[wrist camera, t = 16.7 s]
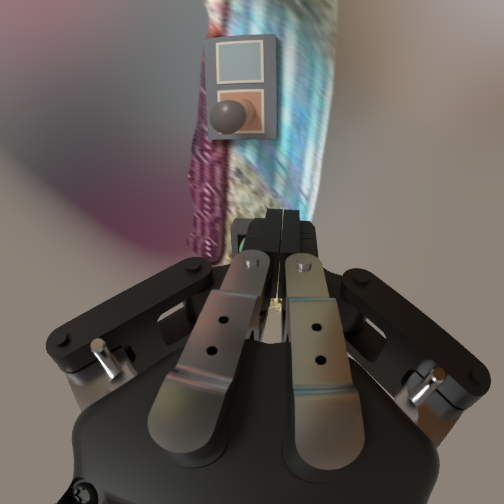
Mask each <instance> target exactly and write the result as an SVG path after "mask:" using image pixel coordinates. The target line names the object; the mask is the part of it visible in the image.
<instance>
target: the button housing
mask: <svg viewBox="0 0 504 504" xmlns="http://www.w3.org/2000/svg"><path fill="white" fill-rule="evenodd" d="M253 220H254V219H238V218H235V219H234V221H233V224H232V226H231V243H232V258H234V256H235V255H236V254H238V253H239V248H240V245H241V242H242V239H243V238H244V237H245V236H246V234H247V231H248V227H249V223H250V222H252V221H253Z"/></svg>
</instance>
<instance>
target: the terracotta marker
mask: <svg viewBox="0 0 504 504" xmlns="http://www.w3.org/2000/svg"><path fill="white" fill-rule="evenodd" d="M254 116H255V107H254V105H253V104H252V103H251V102H250V101H249V100H247V99H243V98H239V99H231V100H224V101H220V102H218V103H217V104H215V105H214V106H213V108H212V109H211V111H210V115H209V119H210V123H211V125H212V127H213V128H214V129H215V130H216V131H217V132H219V133H222V134H232V133H235V132H237V131H238V130H240V129H241V128H242V127H244V126H245V125H246V124H248V123H249V122H251V121H252V119H253V118H254Z"/></svg>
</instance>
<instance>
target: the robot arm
mask: <svg viewBox="0 0 504 504" xmlns="http://www.w3.org/2000/svg"><path fill="white" fill-rule="evenodd" d="M282 214H283V209H268V208H267V212H266V217H265V218H255V219H254V220H253V221H252V222H250V223H249V227H248V231H247V234H246V237H245V240H244V244H243V247H242V251H241V252H239V253H238V254H236V255H235V256H234V258H233V260H232V262H231V264H228V265H224V266H218V267H212V264H211V263H210V261H209V260H207V259H205V258H202V257H191V258H187V259H184V260H182V261H180V262H179V263H177V264H175V265H173V266H171V267H169V268H167V269H165V270H163V271H161V272H159V273H157V274H156V275H154V276H152V277H150V278H148V279H146V280H144V281H142V282H140V283H138V284H137V285H135V286H133V287H131V288H129V289H127V290H125V291H123V292H122V293H120V294H118V295H116V296H115V297H112V298H110V299H109V300H107V301H105V302H103V303H101V304H99V305H98V306H96V307H94V308H92V309H91V310H89V311H87V312H85V313H83V314H81V315H80V316H78V317H76V318H74V319H72V320H71V321H69V322H67V323H65V324H63V325H62V326H60V327H58V328H57V329H55V330H54V331H53V332H52V333H51V334H50V335H49V337H48V339H47V342H46V350H47V353H48V354H49V355H50V356H51V357H52V359H53V360H54V361H55V362H56V363H57V365H58V367H59V368H60V369H61V371H62V372H63V373H64V374H65V375H66V377H67V379H68V382H69V384H70V386H71V389H72V392H73V394H74V396H75V399H76V401H77V403H78V405H79V408H80V410H81V412H82V413H81V414H80V415H79V416H78V418H77V420H76V422H75V425H74V427H73V432H72V445H73V453H74V473H73V480H72V482H71V485H70V486H69V488H68V490H67V491H66V492H65V494H64V495H63V496H62V497H61V499H60V500H59V501H58V502H57V503H56V504H427V502H428V499H429V497H430V494H431V492H432V490H433V488H434V485H435V483H436V481H437V478H438V474H439V467H440V464H439V456H438V452H437V450H436V449H437V447H438V446H439V445H440V443H441V442H442V441H443V440H444V438H445V437H446V436H447V434H448V433H449V432H450V430H451V429H452V428H453V426H454V425H455V423H456V422H457V420H458V419H459V418H460V416H461V414H462V413H463V412H465V411H466V410H467V409H468V408H469V407H471V406H472V405H473V404H474V403H475V402H477V401H478V400H479V399H480V398H481V397H482V396H483V395H485V394H486V393H487V392H488V390H489V388H490V384H491V378H490V374H489V371H488V369H487V368H486V366H484V364H483V363H482V362H480V361H479V360H478V359H477V358H476V357H475V356H474V355H473V354H472V353H470V352H469V351H468V350H467V349H466V348H464V346H462V345H461V344H460V343H459V342H458V341H457V340H455V339H454V338H453V337H452V336H451V335H450V334H448V333H447V332H446V331H445V330H444V329H442V328H441V327H440V326H439V325H438V324H436V323H435V322H434V321H433V320H432V319H430V318H429V317H428V316H426V315H425V314H424V313H422V311H420V310H419V309H418V308H417V307H415V306H414V305H413V304H412V303H410V302H409V301H408V300H406V299H405V298H404V297H403V296H401V295H400V294H399V293H397V292H396V291H395V290H393V289H392V288H391V287H390V286H388V285H387V284H386V283H384V282H383V281H382V280H380V279H379V278H378V277H376V276H375V275H374V274H372V273H371V272H369V271H367V270H364V269H359V268H354V269H349V270H347V271H346V272H345V273H344V274H343V276H341V275H337V274H334V273H331V272H329V271H327V270H326V269H325V268H323V266H322V262H321V261H320V260H319V259H318V250H317V240H316V232H315V227H314V226H313V224H312V223H311V222H310V221H300V218H299V210H286V209H284V216H283V228H282ZM281 235H282V241H281ZM280 251H281V252H280ZM279 262H280V270H279ZM278 273H279V285H278V298H281V299H282V309H281V343H274V344H267V343H263V342H261V341H262V337H263V332H264V328H265V324H266V320H267V316H268V308H269V306H270V301H271V298H276V293H277V283H278ZM181 302H183V305H184V307H182V308H181V309H179V310H177V311H176V312H174V313H172V314H171V315H169V316H167V317H166V318H164V319H162V320H160V321H159V322H157V320H158V318H159V317H160V315H162V314H163V313H164V312H166V311H168V310H169V309H171V308H173V307H174V306H176V305H178V304H179V303H181ZM366 318H368V319H369V320H370V321H371V322H372V323H374V324H375V325H376V326H377V327H378V328H379V329H380V330H382V331H383V332H384V334H385V336H386V339H385V338H384V337H383V336H382V335H381V334H380V333H379V332H378V331H376V330H375V329H374V328H373V327H372V326H371V325H369V324H368V323H367V322H366ZM347 352H348V353H349V354H350V355H351V356H352V357H353V358H354V359H355V360H356V361H357V362H358V363H359V364H360V365H361V366H362V367H361V366H360V365H359V364H358V363H357V362H356V361H355V360H353V359H351V358H350V357H348V355H347ZM363 368H364V369H365V370H366V371H367V372H368V373H369V374H370V375H371V376H372V377H373V378H374V379H375V380H376V381H377V382H378V383H380V384H381V386H383V387H384V388H385V389H386V390H387V391H388V392H389V393H390V394H391V395H392V396H393V397H394V400H393V399H392V398H391V397H390V396H389V395H388V394H387V393H386V392H385V391H384V390H383V389H382V388H381V387H380V386H379V385H378V383H377V382H376V381H375V380H374V379H373V378H372V377H371V376H370V375H369V374H368V373H367V372H366V371H365V370H364V369H363Z"/></svg>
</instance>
